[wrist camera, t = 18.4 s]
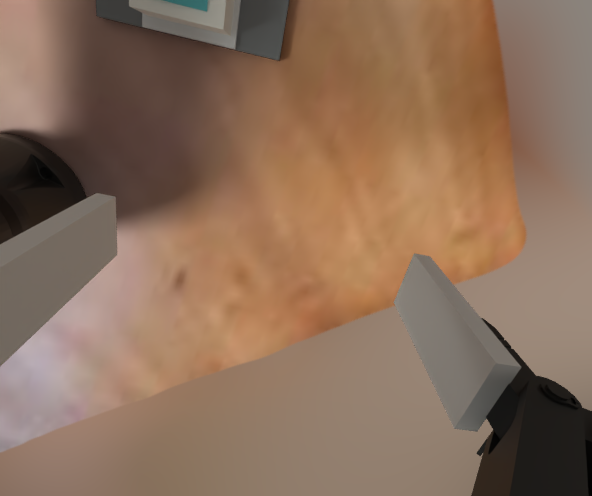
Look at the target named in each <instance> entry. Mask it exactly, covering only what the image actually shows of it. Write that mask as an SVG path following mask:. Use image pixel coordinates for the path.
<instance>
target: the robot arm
mask: <svg viewBox="0 0 592 496" xmlns="http://www.w3.org/2000/svg"><path fill="white" fill-rule="evenodd" d="M116 255H117V226H116V197H115V196H110V195H105V194H99V193H95V194H94V195H92V196H90V197H88V198H86V196H85V193H84V191H83V188H82V186H81V184H80V182H79V181H78V179H77V177H76V176H75V174H74V173H73V172H72V170H71V169H70V168H69V167H68V166H67V165H66V164H65V163H64V162H63V161H62V160H61V159H60V158H59V157H58V156H57V155H56V154H54V153H53V152H52V151H50V150H49V149H47V148H46V147H44V146H42V145H40V144H39V143H37V142H34V141H32V140H30V139H27V138H24V137H21V136H17V135H12V134H2V133H0V366H1V365H2V364H3V363H4V362H5V361H6V360H7V359H9V358H10V357H11V356H12V355H13V354H14V353H15V352H16V351H17V350H18V349H19V348H20V347H21V346H22V345H23V344H24V343H25V342H26V341H27V340H28V339H29V338H31V337H32V336H33V335H34V334H35V333H36V332H37V331H38V330H39V329H40V328H41V327H42V326H43V325H44V324H45V323H46V322H47V321H48V320H49V319H50V318H51V317H53V316H54V315H55V314H56V313H57V312H58V311H59V310H60V309H61V308H62V307H63V306H64V305H65V304H66V303H67V302H68V301H69V300H70V299H71V298H72V297H73V296H75V295H76V294H77V293H78V292H79V291H80V290H81V289H82V288H83V287H84V286H85V285H86V284H87V283H88V282H89V281H90V280H91V279H92V278H93V277H94V276H95V275H97V274H98V273H99V272H100V271H101V270H102V269H103V268H104V267H105V266H106V265H107V264H108V263H109V262H110V261H111V260H112V259H113V258H114V257H115V256H116ZM394 304H395V306H396V308H397V310H398V312H399V314H400V316H401V318H402V321H403V322H404V324H405V327H406V329H407V331H408V333H409V335H410V337H411V339H412V341H413V343H414V346H415V348H416V350H417V352H418V354H419V356H420V358H421V360H422V362H423V364H424V366H425V368H426V370H427V373H428V375H429V377H430V379H431V381H432V383H433V385H434V387H435V389H436V391H437V393H438V396H439V397H440V400H441V402H442V404H443V406H444V408H445V410H446V412H447V414H448V416H449V418H450V420H451V423H452V424H453V427H454V428H455V429H462V430H469V431H478V429H479V428H480V427H481V425H482V424H483V422H484V421H485V420H486V418H487V420H488V421H489V423H490V425H491V426H492V428H493V431H492V432H491V434H490V435H489V437H488V438H487V439H486V441H485V442H484V444H483V445H482V446H481V448H480V449H479V451H478V452H477V454H478V455H479V456H481V455H482V453H483V456H482V460H481V463H480V467H479V470H478V474H477V477H476V481H475V484H474V488H473V492H472V495H471V496H592V411H589V410H587V409H584V408H582V406H581V404H580V402H579V401H578V400H577V399H576V398H575V396H574V395H573V394H571V393H570V392H569V391H568V390H567V389H565V388H564V387H562V386H561V385H559V384H558V383H556V382H554V381H552V380H549V379H547V378H544V377H540V376H536V375H535V374H534V373H533V372H532V371H531V369H530V368H529V367H528V366H527V365H526V363H525V362H524V361H523V360H522V359H521V358H520V356H519V355H518V354H517V353H516V352H515V351H514V349H511V346H510V345H509V344H508V342H507V341H506V340H504V338H503V337H502V335H501V334H500V333H499V332H498V331H497V329H496V328H495V327H493V326H492V325H491V324H489V323H488V322H487V321H486V320H484V319H483V318H480V316H479V315H478V314H477V313H476V312H475V310H474V309H473V308H472V307H471V306H470V304H469V303H468V302H467V301H466V300H465V298H464V297H463V296H462V295H461V294H460V292H459V291H458V290H457V289H456V287H455V286H454V285H453V284H452V283H451V281H450V280H449V279H448V278H447V277H446V275H445V274H444V273H443V272H442V271H441V269H440V268H439V267H438V266H437V264H436V263H435V262H434V261H433V260H432V258H431V257H430V256H425V255H420V254H414V255H413V257H412V260H411V262H410V265H409V267H408V269H407V272H406V274H405V277H404V279H403V282H402V284H401V286H400V289H399V291H398V294H397V296H396V298H395V301H394Z"/></svg>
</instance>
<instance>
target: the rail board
mask: <svg viewBox="0 0 592 496" xmlns="http://www.w3.org/2000/svg"><path fill="white" fill-rule="evenodd" d="M288 6H289V0H96V13H97V16H98V17H101V18H105V19H109V20H113V21H117V22H121V23H125V24H129V25H134V26H138V27H142V28H146V29H150V30H154V31H158V32H162V33H166V34H171V35H175V36H179V37H183V38H187V39H191V40H195V41H199V42H203V43H207V44H212V45H216V46H220V47H224V48H228V49H232V50H236V51H240V52H244V53H249V54H253V55H257V56H261V57H265V58H269V59H273V60H277V61H279V60H280V54H281V48H282V42H283V36H284V30H285V24H286V18H287V12H288Z"/></svg>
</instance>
